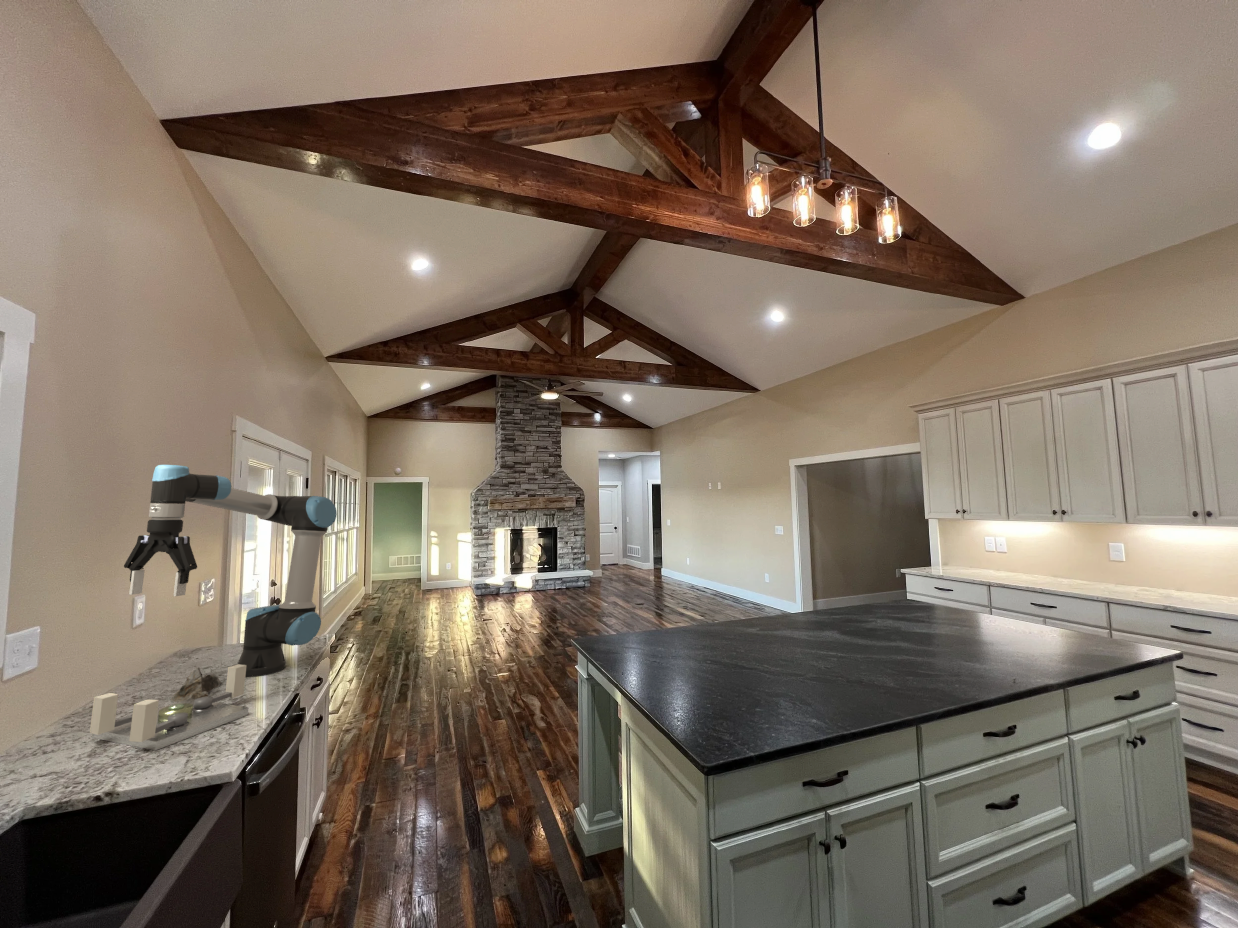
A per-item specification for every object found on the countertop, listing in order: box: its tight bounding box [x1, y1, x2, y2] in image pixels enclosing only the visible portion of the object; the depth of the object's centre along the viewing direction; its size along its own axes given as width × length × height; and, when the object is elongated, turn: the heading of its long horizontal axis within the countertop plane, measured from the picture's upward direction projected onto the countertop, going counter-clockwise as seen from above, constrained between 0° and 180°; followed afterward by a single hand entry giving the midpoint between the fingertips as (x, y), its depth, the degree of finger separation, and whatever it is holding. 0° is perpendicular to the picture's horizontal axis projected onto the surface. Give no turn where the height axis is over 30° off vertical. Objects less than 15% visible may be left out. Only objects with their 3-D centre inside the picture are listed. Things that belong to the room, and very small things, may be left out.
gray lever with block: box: [194, 663, 246, 709], centre depth 147 cm, size 13×4×9 cm, turn 165°
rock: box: [170, 667, 222, 703], centre depth 160 cm, size 18×11×10 cm, turn 13°
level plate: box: [91, 698, 249, 751], centre depth 135 cm, size 23×23×6 cm
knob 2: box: [129, 699, 188, 742], centre depth 127 cm, size 13×4×9 cm, turn 176°
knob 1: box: [89, 692, 133, 735], centre depth 130 cm, size 13×4×9 cm, turn 163°
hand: (157, 594), depth 139 cm, fingers open, 13 cm apart
